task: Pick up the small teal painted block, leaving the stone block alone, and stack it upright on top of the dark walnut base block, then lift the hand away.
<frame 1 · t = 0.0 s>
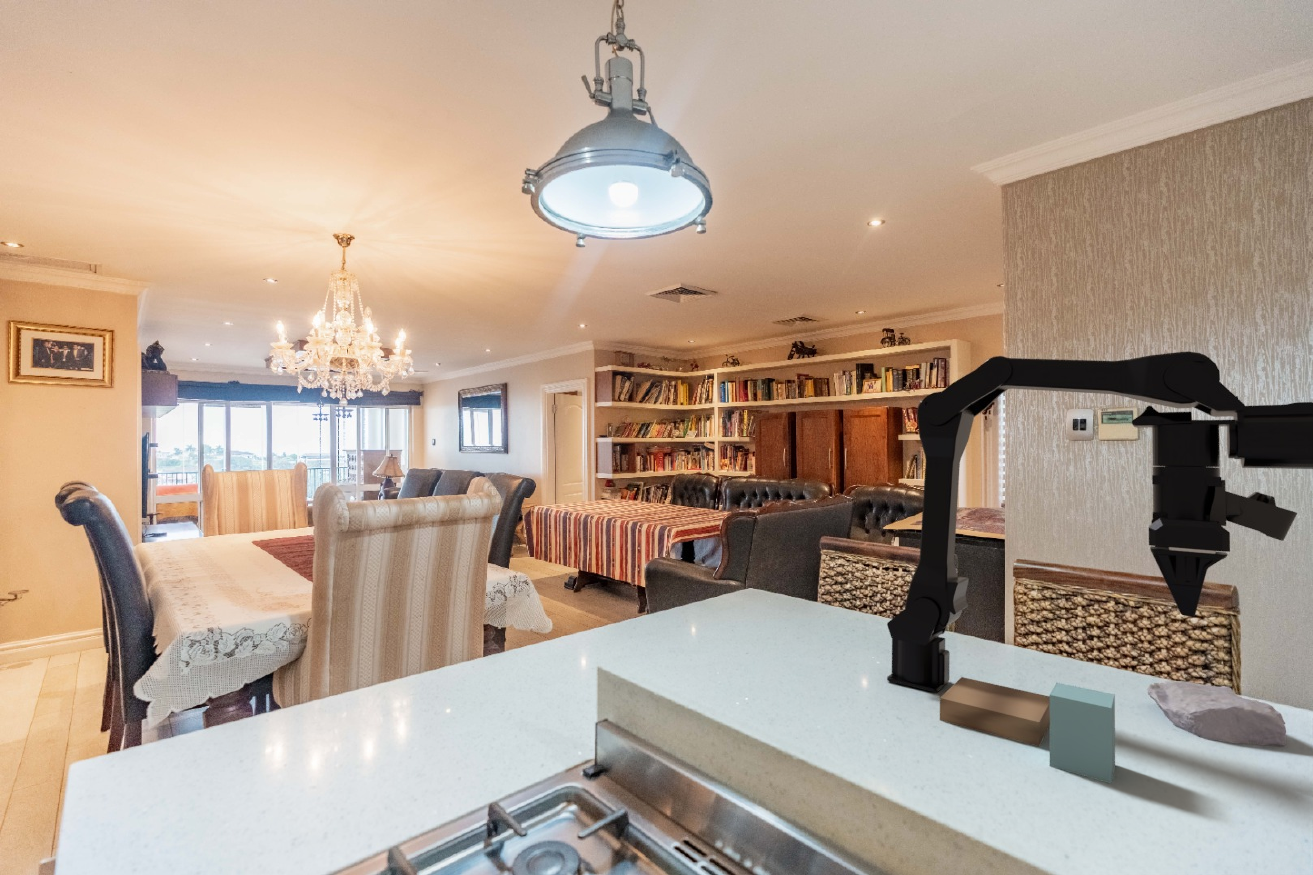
hand: (1186, 608, 68), 15 cm above the kitchen island, fingers open, 9 cm apart
teal block: (1082, 765, 62), on the kitchen island
walnut base block: (996, 723, 73), on the kitchen island
stone block: (1205, 726, 74), on the kitchen island
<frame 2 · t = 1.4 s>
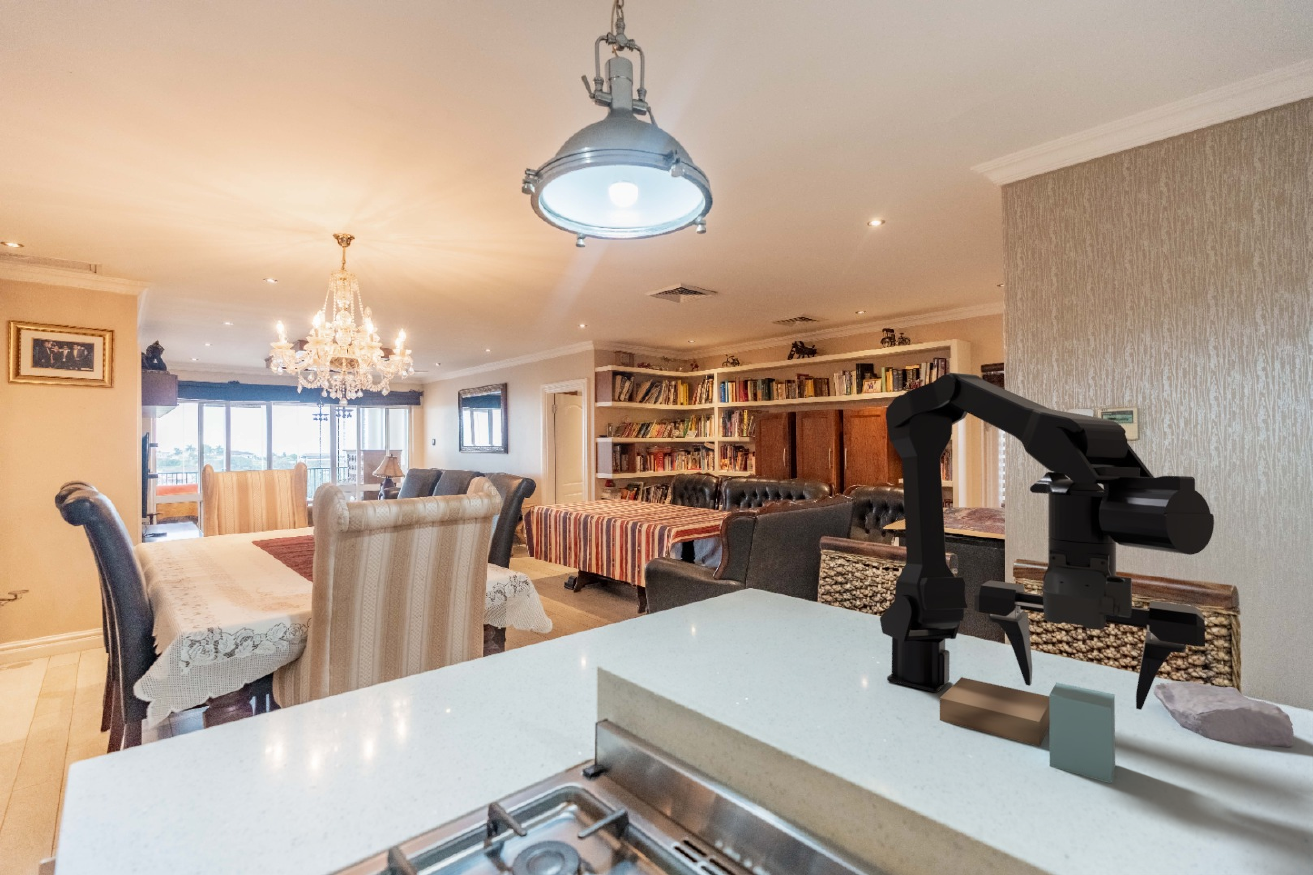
hand: (1081, 695, 63), 7 cm above the kitchen island, fingers open, 9 cm apart
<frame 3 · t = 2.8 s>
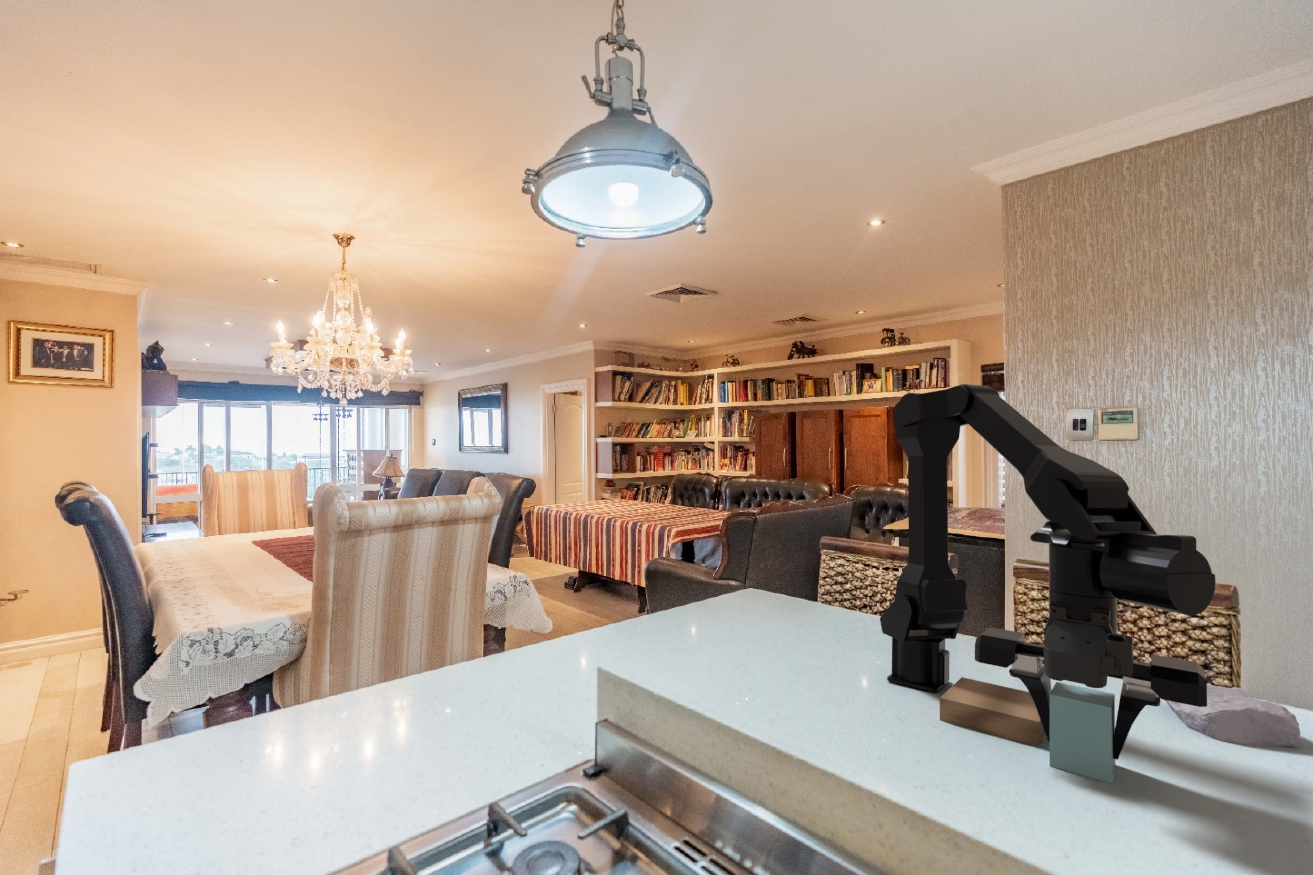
hand: (1082, 749, 62), 2 cm above the kitchen island, fingers closed on teal block, 5 cm apart
teal block: (1082, 765, 62), on the kitchen island, touching gripper
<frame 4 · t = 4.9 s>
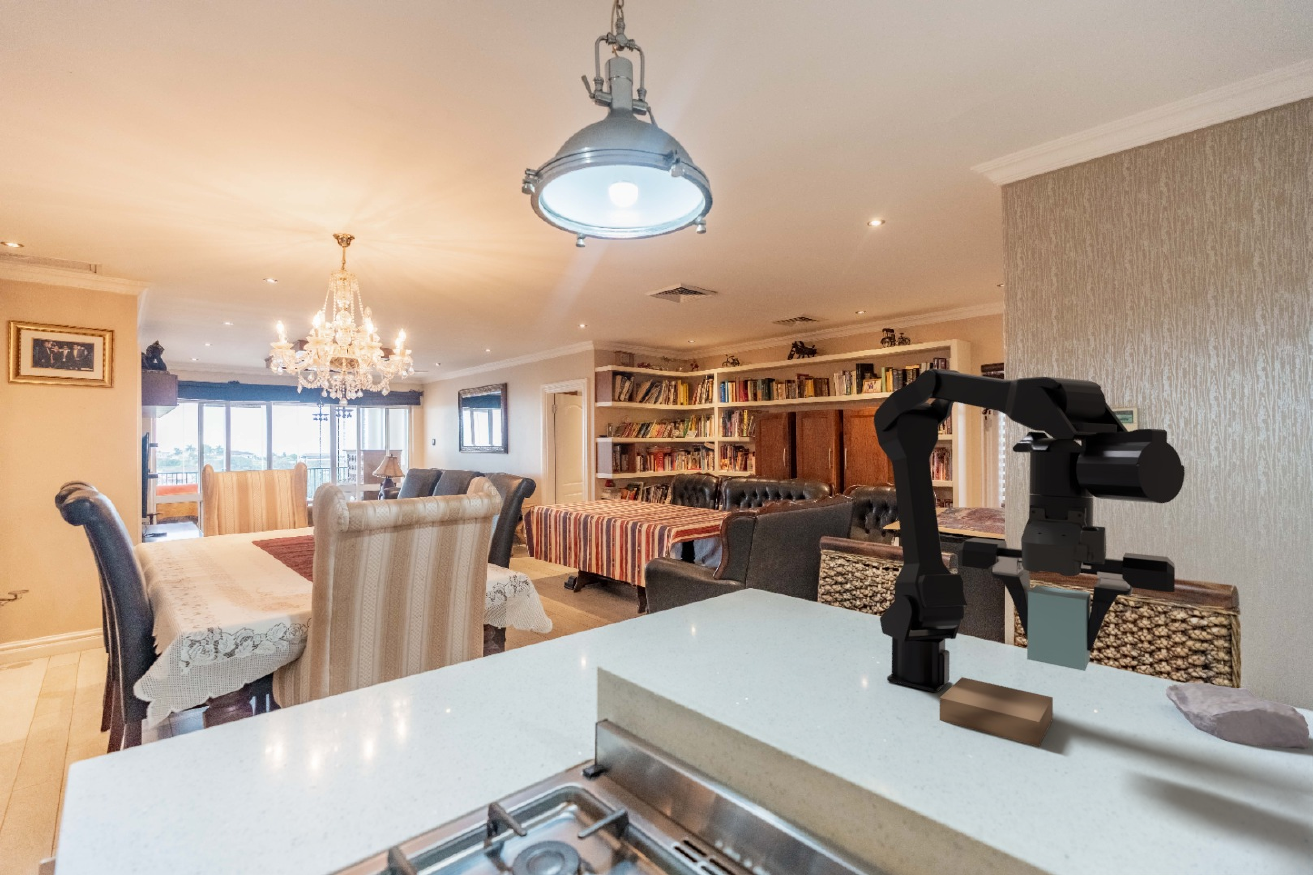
hand: (1058, 644, 65), 11 cm above the kitchen island, fingers closed on teal block, 5 cm apart
teal block: (1058, 659, 65), point 10 cm above the kitchen island, touching gripper
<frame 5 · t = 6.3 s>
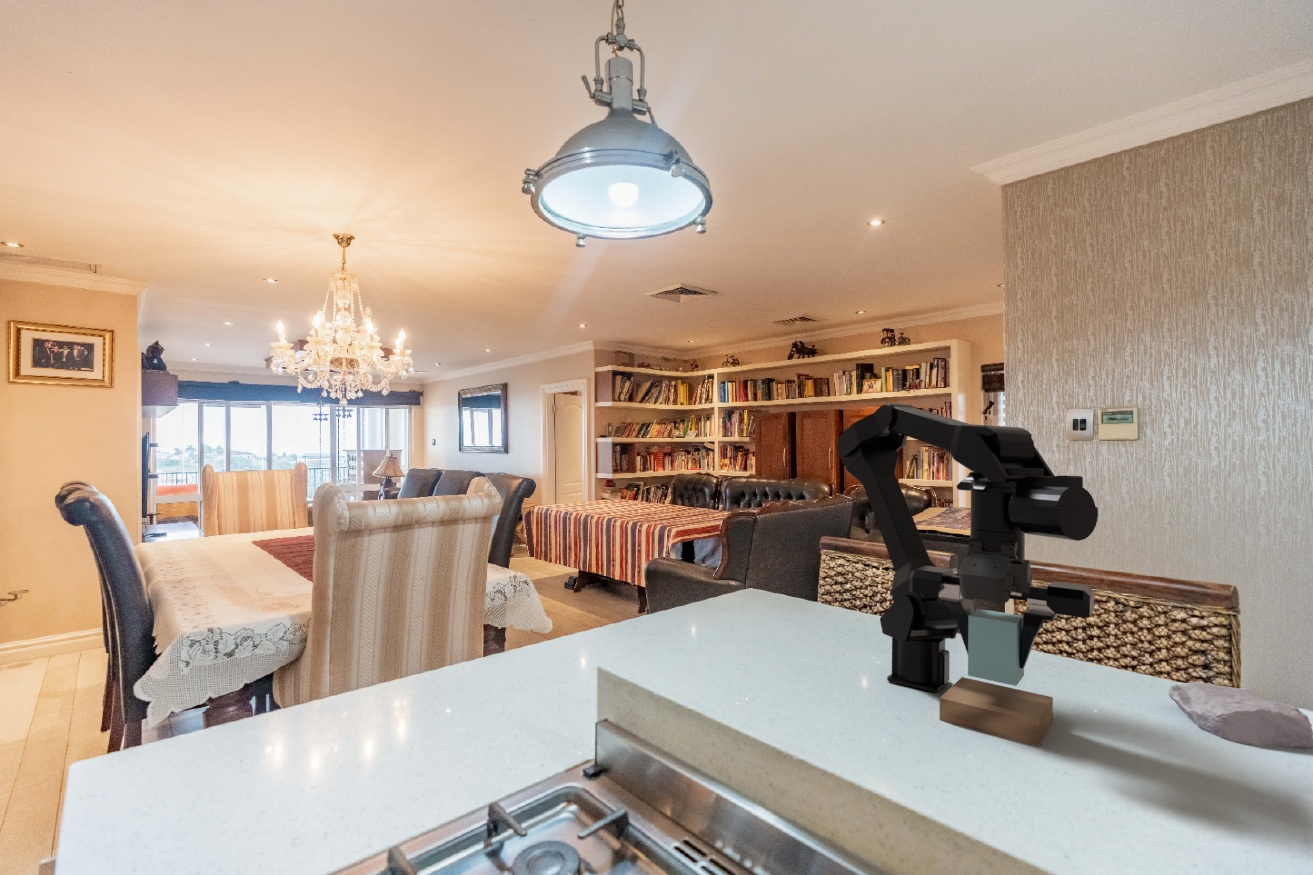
hand: (996, 662, 74), 7 cm above the kitchen island, fingers closed on teal block, 5 cm apart
teal block: (996, 675, 74), point 5 cm above the kitchen island, touching gripper
when the fingers open (6 cm above the kitchen island, at t = 7.2 s): teal block drops 2 cm, point 2 cm above the kitchen island.
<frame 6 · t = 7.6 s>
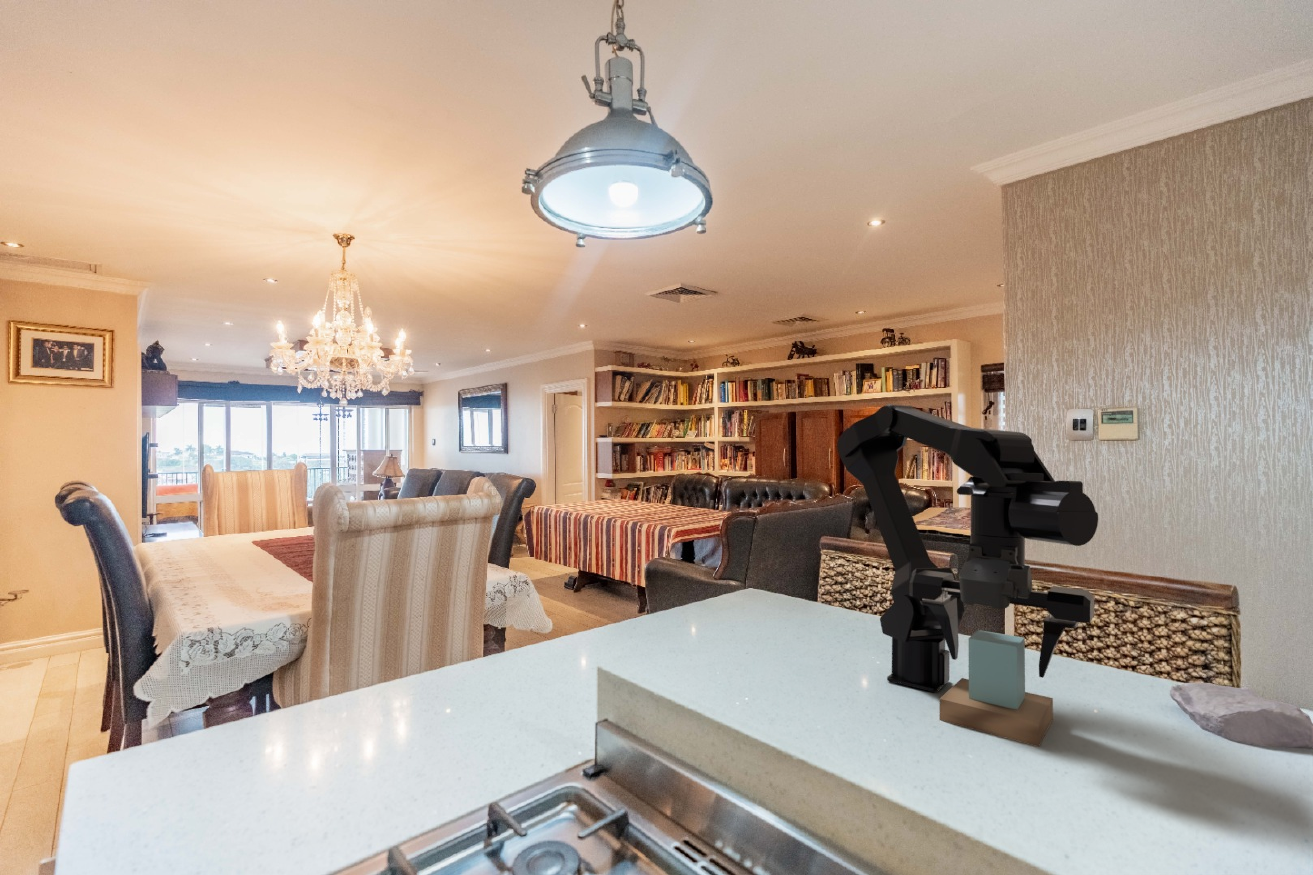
hand: (996, 667, 74), 6 cm above the kitchen island, fingers open, 9 cm apart
teal block: (997, 697, 73), point 2 cm above the kitchen island
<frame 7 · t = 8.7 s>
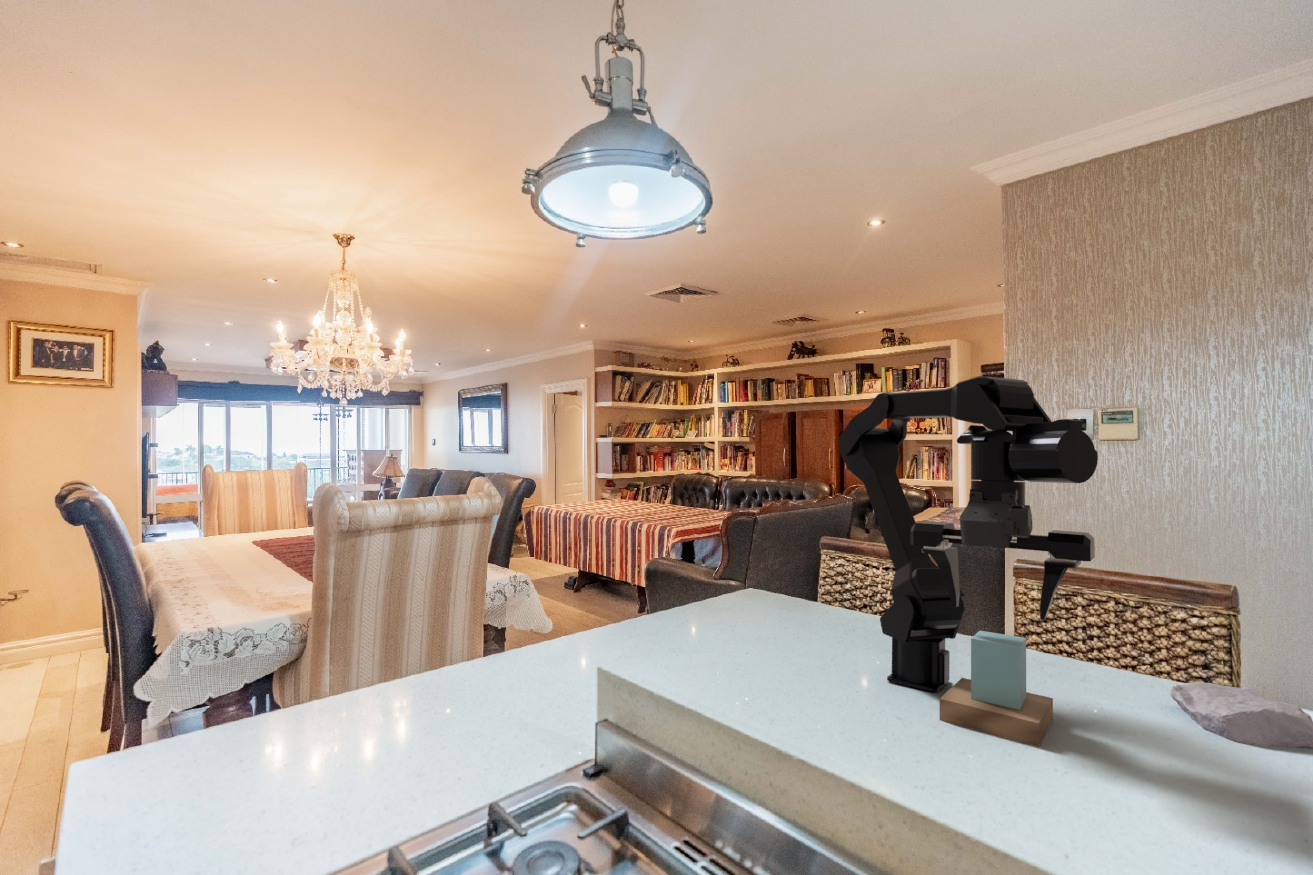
hand: (997, 612, 74), 12 cm above the kitchen island, fingers open, 9 cm apart
teal block: (998, 698, 73), point 2 cm above the kitchen island, touching walnut base block
walnut base block: (996, 724, 73), on the kitchen island, touching teal block
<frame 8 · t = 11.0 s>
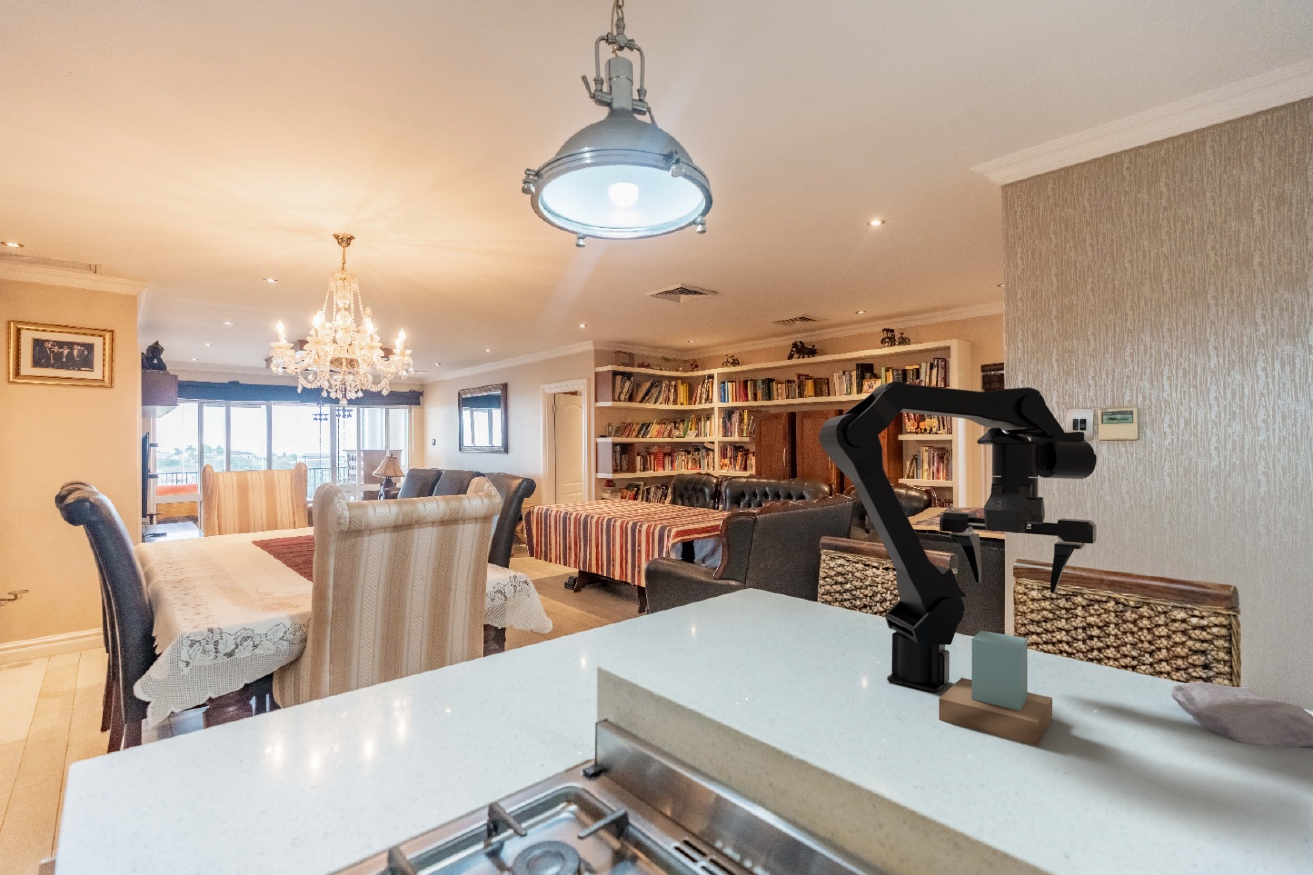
hand: (1014, 587, 88), 13 cm above the kitchen island, fingers open, 9 cm apart
teal block: (999, 698, 73), point 2 cm above the kitchen island
walnut base block: (996, 723, 73), on the kitchen island
at the end: teal block 0.4 cm off-centre on the walnut base block, point 3.1 cm above the walnut base block's base; teal block tilted 2°; the gripper is holding nothing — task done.
